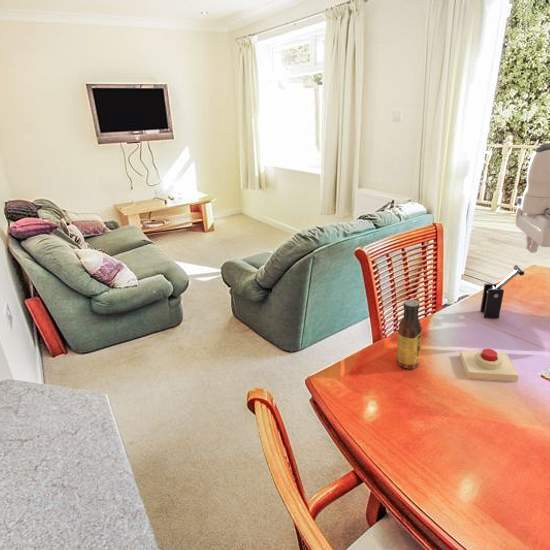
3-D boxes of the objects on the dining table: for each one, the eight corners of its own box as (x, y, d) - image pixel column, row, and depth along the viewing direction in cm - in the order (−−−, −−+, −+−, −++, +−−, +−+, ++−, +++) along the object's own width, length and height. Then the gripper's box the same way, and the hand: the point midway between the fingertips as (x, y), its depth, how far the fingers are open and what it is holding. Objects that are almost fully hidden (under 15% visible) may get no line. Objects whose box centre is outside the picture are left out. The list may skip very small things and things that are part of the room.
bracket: (503, 311, 130) (509, 281, 125) (513, 325, 122) (519, 293, 117) (466, 310, 133) (470, 280, 128) (472, 324, 125) (477, 292, 120)
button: (494, 354, 104) (495, 349, 103) (498, 362, 101) (499, 356, 100) (479, 353, 105) (480, 348, 104) (483, 361, 102) (484, 356, 101)
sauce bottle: (420, 371, 105) (426, 309, 97) (397, 370, 107) (401, 309, 99) (417, 356, 111) (422, 297, 103) (395, 356, 113) (398, 297, 104)
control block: (504, 358, 107) (507, 347, 106) (517, 381, 98) (520, 369, 97) (459, 356, 110) (461, 344, 108) (467, 378, 101) (469, 366, 100)
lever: (520, 267, 121) (515, 263, 120) (526, 274, 116) (520, 269, 116) (490, 293, 126) (484, 289, 126) (495, 300, 122) (489, 296, 122)
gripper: (572, 214, 94) (560, 264, 100) (538, 195, 112) (529, 239, 118) (543, 214, 96) (533, 264, 101) (514, 196, 114) (507, 239, 119)
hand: (531, 250), depth 110 cm, fingers closed
